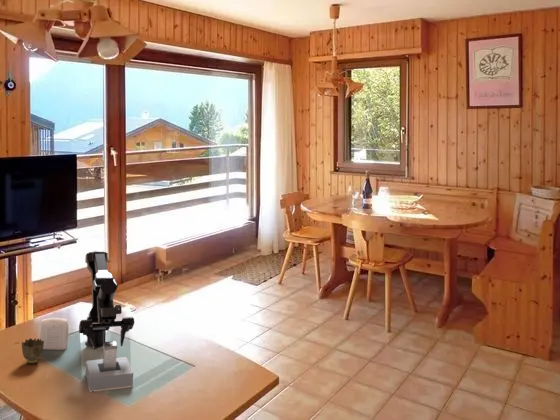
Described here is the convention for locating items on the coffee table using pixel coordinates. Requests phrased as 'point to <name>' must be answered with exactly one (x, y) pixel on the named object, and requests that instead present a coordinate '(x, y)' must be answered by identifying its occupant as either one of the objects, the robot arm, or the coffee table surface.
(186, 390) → the coffee table surface
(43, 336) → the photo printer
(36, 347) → the brown ornate lampshade
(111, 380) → the square well
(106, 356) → the metal bar
